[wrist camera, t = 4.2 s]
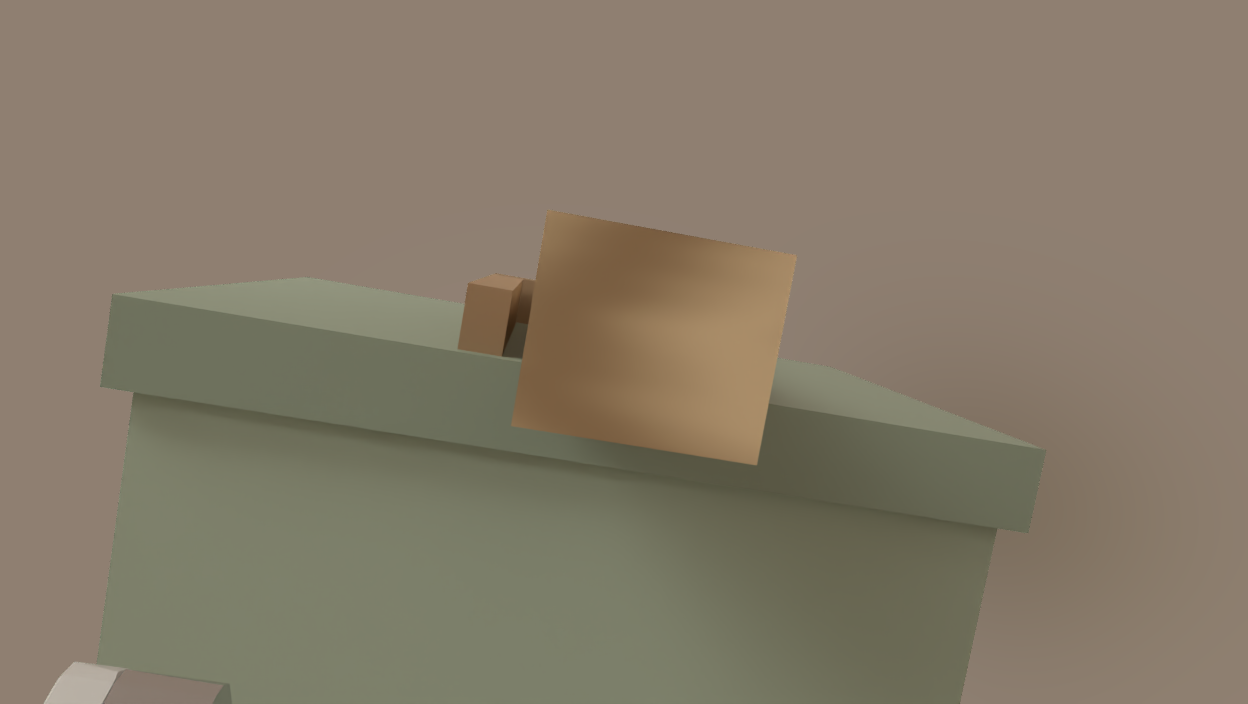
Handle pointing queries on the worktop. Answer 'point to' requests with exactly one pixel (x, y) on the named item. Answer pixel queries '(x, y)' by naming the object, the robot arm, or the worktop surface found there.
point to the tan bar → (652, 338)
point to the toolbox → (521, 520)
